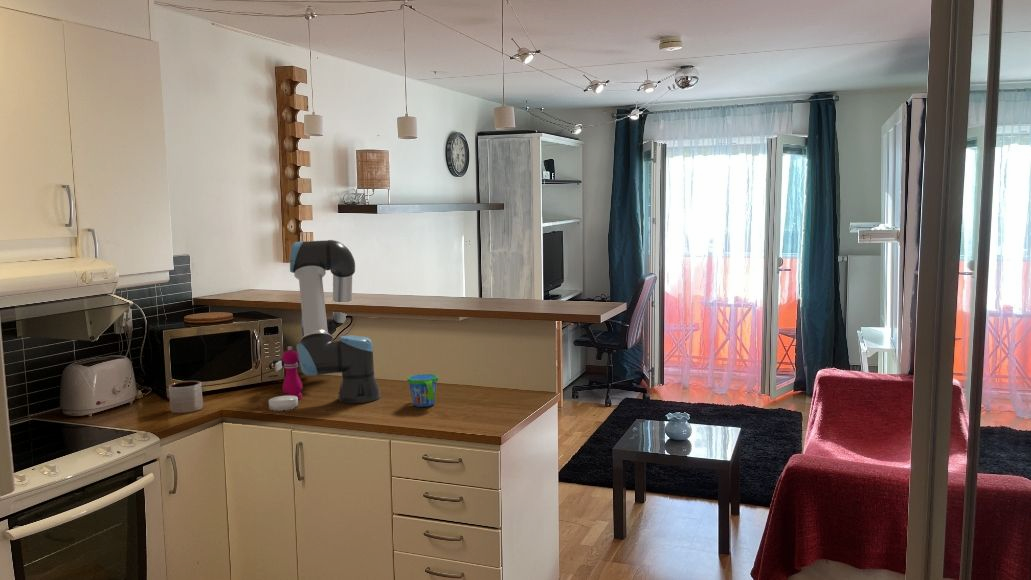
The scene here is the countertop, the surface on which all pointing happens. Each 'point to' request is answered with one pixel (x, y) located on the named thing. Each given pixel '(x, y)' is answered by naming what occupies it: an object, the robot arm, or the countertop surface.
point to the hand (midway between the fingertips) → (294, 366)
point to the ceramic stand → (283, 403)
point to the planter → (185, 397)
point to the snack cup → (423, 389)
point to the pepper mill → (291, 374)
